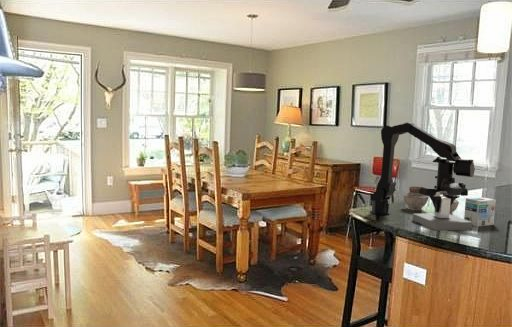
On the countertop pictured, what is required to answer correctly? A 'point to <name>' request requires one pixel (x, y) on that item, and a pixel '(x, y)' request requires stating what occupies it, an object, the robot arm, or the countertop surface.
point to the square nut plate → (442, 222)
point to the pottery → (422, 200)
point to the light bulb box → (480, 211)
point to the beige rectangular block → (443, 208)
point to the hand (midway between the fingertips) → (441, 212)
